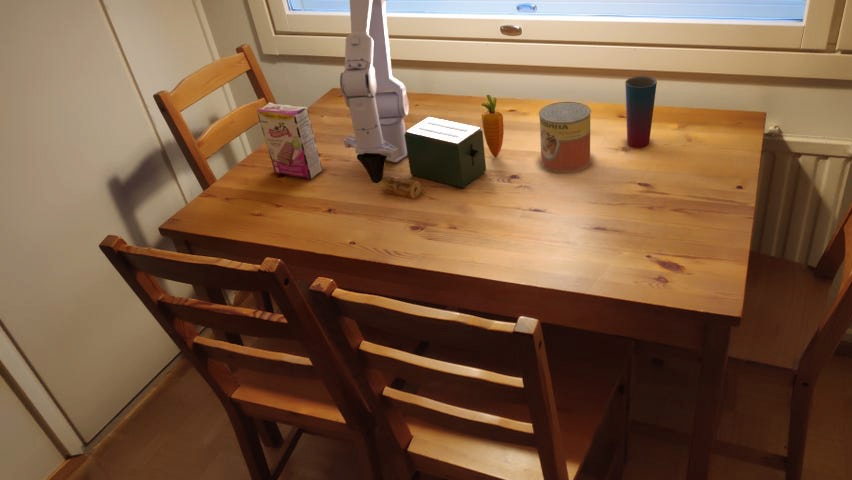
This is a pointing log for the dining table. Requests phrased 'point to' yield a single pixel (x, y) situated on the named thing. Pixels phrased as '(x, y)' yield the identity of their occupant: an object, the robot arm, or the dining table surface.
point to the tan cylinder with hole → (400, 186)
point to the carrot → (493, 126)
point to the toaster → (445, 152)
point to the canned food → (565, 136)
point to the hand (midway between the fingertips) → (377, 181)
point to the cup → (639, 109)
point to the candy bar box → (290, 140)
